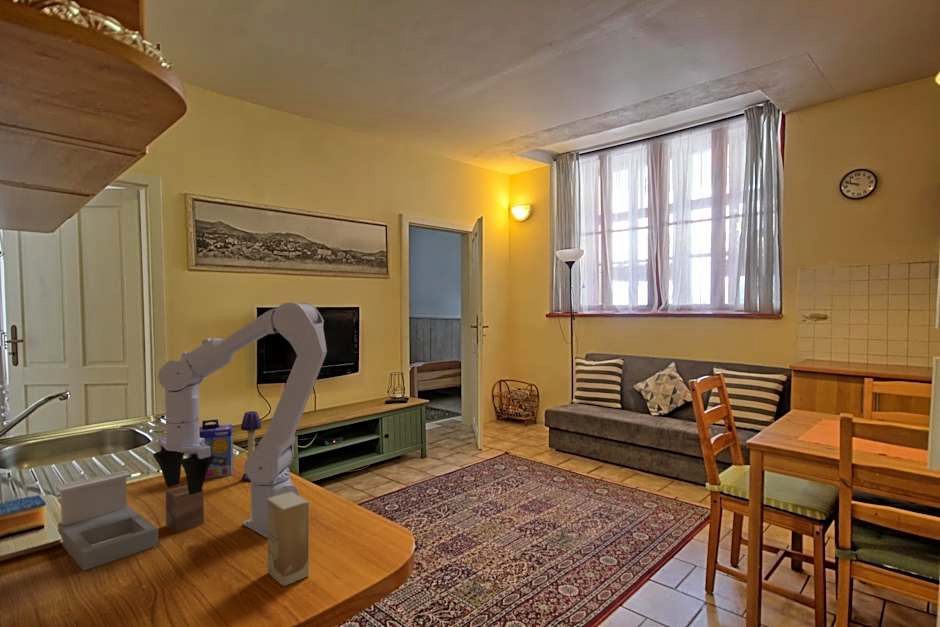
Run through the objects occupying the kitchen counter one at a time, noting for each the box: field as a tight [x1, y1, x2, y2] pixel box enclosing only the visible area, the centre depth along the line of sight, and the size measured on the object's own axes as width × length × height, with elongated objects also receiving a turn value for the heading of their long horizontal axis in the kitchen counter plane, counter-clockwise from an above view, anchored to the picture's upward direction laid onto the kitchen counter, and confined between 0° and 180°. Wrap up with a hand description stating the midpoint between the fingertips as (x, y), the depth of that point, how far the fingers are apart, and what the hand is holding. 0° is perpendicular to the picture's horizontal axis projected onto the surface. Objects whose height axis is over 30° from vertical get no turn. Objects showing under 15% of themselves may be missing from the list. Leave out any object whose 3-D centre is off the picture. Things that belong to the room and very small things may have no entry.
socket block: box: [55, 470, 160, 571], centre depth 92 cm, size 18×11×10 cm, turn 50°
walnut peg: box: [165, 484, 205, 534], centre depth 99 cm, size 5×5×7 cm
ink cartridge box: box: [188, 419, 234, 479], centre depth 128 cm, size 10×6×14 cm, turn 113°
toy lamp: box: [240, 410, 262, 482], centre depth 125 cm, size 5×5×17 cm
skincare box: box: [267, 492, 310, 587], centre depth 80 cm, size 6×4×12 cm
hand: (184, 489), depth 99 cm, fingers open, 7 cm apart
